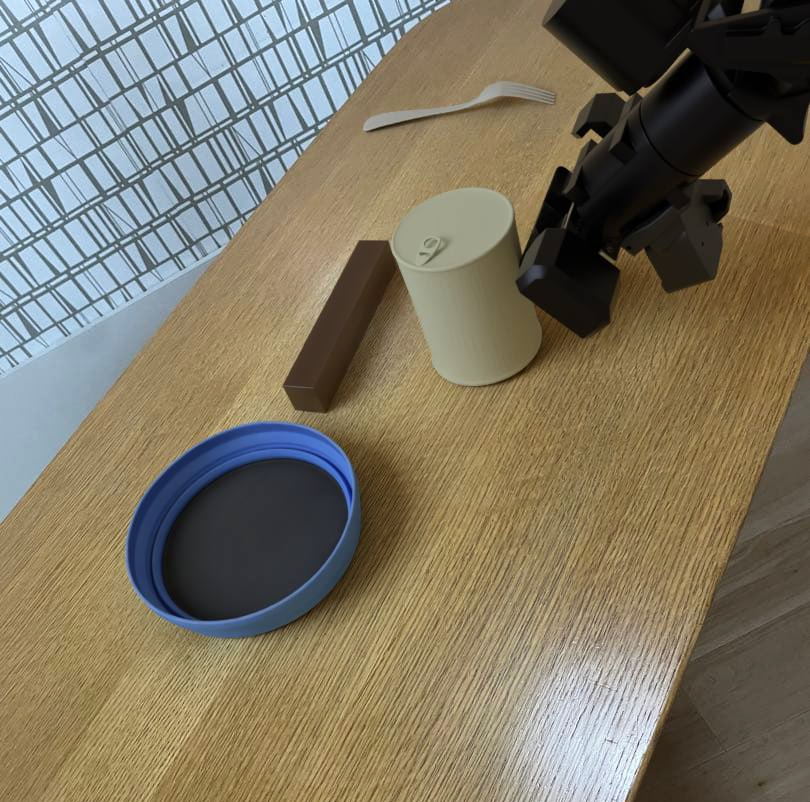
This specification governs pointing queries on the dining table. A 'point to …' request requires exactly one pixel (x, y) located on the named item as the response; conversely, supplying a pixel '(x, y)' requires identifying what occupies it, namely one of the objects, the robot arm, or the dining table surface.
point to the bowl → (245, 530)
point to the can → (468, 285)
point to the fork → (488, 93)
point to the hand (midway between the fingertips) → (520, 278)
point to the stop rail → (340, 327)
